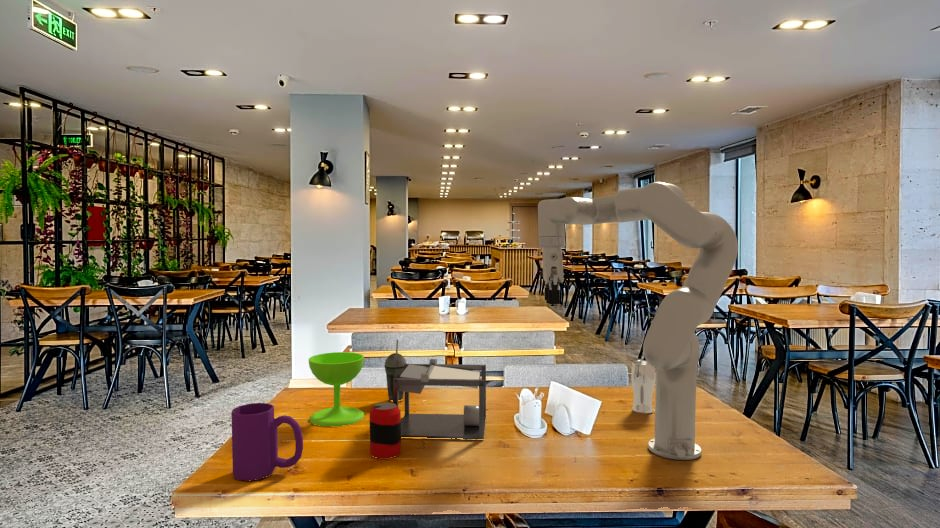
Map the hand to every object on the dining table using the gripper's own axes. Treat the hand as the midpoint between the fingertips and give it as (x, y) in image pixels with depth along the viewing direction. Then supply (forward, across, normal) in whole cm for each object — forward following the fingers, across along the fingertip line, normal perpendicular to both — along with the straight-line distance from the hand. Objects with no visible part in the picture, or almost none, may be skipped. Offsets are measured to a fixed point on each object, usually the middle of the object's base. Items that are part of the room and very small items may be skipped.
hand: (552, 302), depth 160 cm
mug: (+34, -37, +69) cm, 86 cm away
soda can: (+34, -25, +45) cm, 62 cm away
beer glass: (+35, +10, -29) cm, 47 cm away
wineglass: (+34, +2, +64) cm, 72 cm away
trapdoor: (+23, -7, +32) cm, 40 cm away
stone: (+31, -7, +26) cm, 41 cm away
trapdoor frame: (+34, -6, +32) cm, 47 cm away
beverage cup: (+34, +19, +49) cm, 63 cm away
